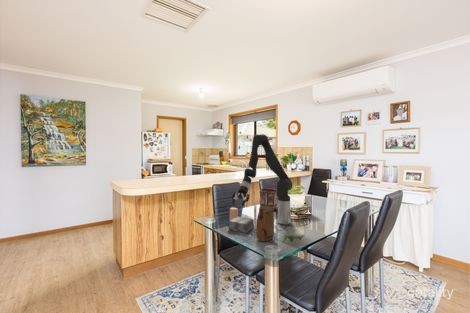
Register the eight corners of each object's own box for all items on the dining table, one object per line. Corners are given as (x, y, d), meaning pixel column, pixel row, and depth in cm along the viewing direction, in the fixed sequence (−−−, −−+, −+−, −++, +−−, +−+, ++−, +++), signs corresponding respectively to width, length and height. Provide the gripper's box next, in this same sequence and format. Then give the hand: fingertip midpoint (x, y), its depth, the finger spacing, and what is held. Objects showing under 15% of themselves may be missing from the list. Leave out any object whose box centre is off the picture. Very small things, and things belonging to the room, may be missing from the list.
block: (265, 235, 148) (266, 204, 147) (275, 239, 142) (275, 207, 141) (254, 239, 140) (255, 207, 140) (263, 243, 135) (264, 210, 134)
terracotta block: (238, 221, 176) (238, 208, 176) (235, 222, 172) (235, 209, 172) (232, 219, 178) (232, 207, 178) (229, 221, 174) (229, 208, 174)
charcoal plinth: (253, 227, 162) (253, 218, 162) (246, 233, 151) (246, 224, 151) (237, 224, 169) (237, 216, 168) (228, 229, 157) (229, 220, 157)
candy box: (310, 213, 201) (310, 194, 201) (311, 215, 195) (312, 196, 195) (294, 212, 202) (294, 194, 202) (295, 214, 197) (295, 195, 196)
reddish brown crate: (266, 212, 199) (266, 192, 199) (255, 207, 215) (256, 189, 215) (282, 211, 207) (283, 191, 206) (271, 206, 223) (272, 188, 222)
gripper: (235, 184, 191) (228, 200, 181) (250, 186, 184) (244, 203, 174) (238, 189, 196) (231, 205, 186) (253, 191, 189) (247, 208, 179)
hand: (237, 204), depth 180 cm, fingers open, 8 cm apart
